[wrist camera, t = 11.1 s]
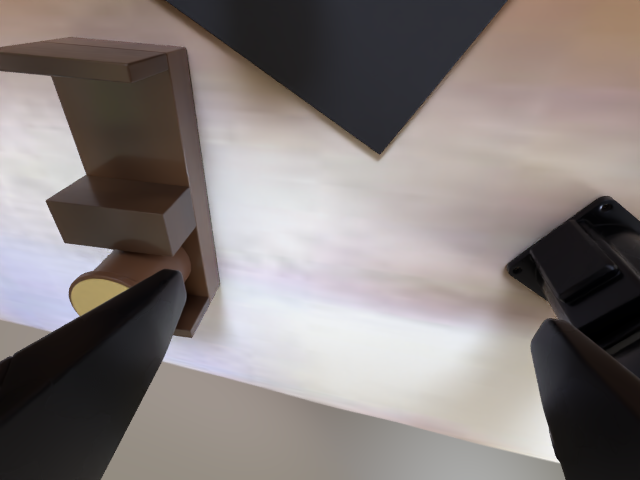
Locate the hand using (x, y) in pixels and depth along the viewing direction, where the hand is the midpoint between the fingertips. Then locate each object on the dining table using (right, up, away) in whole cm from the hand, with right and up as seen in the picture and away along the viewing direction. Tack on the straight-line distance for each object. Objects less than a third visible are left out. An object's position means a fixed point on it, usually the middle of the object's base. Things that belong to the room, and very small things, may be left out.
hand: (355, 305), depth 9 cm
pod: (-11, 0, +14) cm, 18 cm away
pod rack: (-11, +5, +13) cm, 18 cm away
